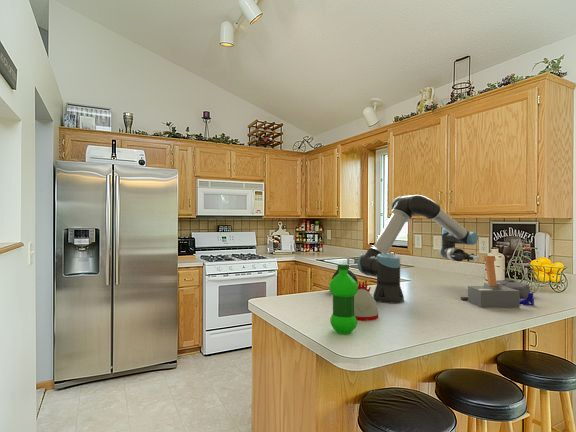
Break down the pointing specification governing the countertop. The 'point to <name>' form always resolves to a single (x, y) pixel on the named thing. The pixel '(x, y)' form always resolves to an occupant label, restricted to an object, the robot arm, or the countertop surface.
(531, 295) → the cable clip
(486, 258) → the breaker lever
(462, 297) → the cord bundle
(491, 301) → the block
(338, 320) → the plastic bottle
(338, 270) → the squash
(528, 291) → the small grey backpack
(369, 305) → the grey dome with crown
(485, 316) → the countertop surface
